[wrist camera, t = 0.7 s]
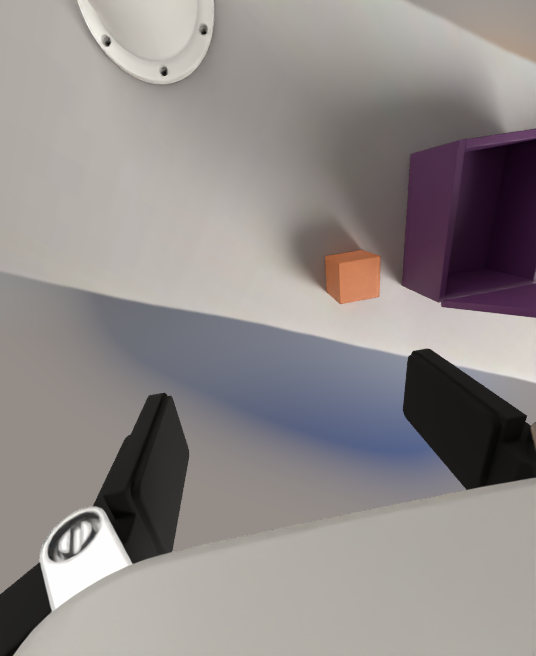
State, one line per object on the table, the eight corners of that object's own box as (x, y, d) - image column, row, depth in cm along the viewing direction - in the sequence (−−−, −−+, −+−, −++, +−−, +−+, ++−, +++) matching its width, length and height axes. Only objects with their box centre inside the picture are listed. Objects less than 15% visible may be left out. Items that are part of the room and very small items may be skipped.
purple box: (410, 154, 35) (459, 140, 28) (508, 139, 36) (582, 121, 29) (401, 285, 43) (438, 302, 35) (483, 270, 44) (536, 284, 36)
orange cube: (324, 255, 39) (338, 263, 34) (361, 249, 40) (380, 255, 35) (326, 292, 42) (340, 304, 37) (361, 286, 42) (379, 297, 37)
